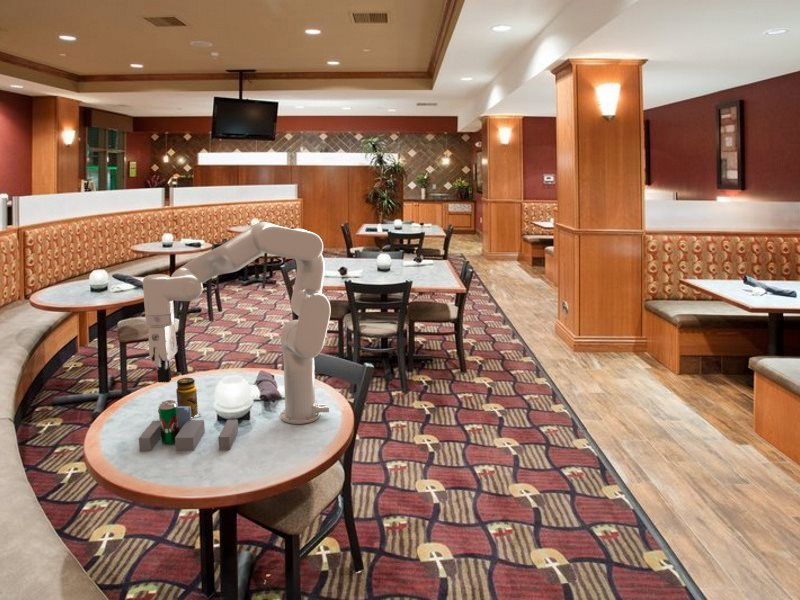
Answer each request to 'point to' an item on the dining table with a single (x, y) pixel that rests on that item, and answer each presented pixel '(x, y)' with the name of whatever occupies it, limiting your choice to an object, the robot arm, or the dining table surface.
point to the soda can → (168, 421)
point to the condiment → (187, 394)
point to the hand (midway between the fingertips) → (164, 381)
